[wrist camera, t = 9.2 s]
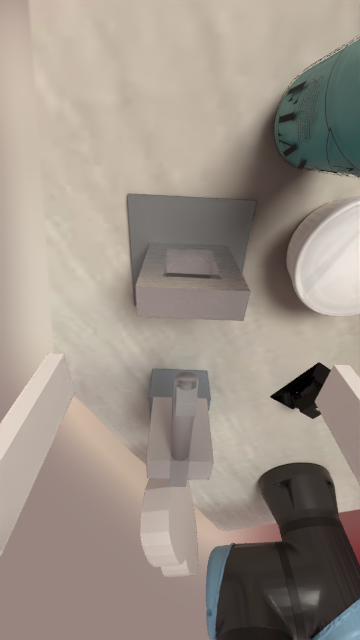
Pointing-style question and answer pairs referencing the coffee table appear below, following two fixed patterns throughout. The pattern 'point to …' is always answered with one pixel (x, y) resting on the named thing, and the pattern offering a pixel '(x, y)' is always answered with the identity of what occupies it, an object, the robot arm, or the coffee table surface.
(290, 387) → the black phone stand
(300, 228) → the ramekin
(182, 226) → the mat
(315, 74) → the beverage bottle
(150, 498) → the heart sculpture
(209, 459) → the vise
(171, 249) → the ring
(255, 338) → the coffee table surface
